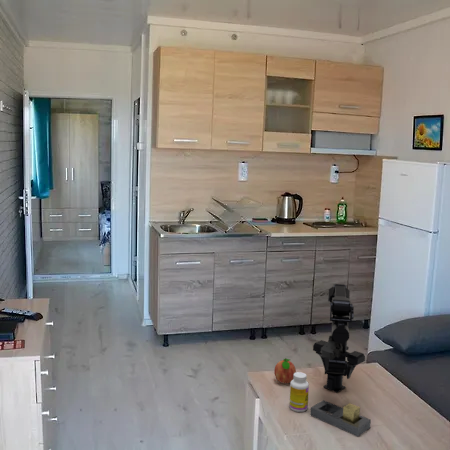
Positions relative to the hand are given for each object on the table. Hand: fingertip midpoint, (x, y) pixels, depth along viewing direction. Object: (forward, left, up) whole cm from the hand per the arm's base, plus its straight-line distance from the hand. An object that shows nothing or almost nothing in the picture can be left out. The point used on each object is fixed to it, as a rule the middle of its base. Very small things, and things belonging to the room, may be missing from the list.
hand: (337, 374), depth 193 cm
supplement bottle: (+12, -8, -12) cm, 19 cm away
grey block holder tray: (+9, +7, -12) cm, 17 cm away
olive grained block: (+9, +12, -12) cm, 19 cm away
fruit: (-2, -25, -12) cm, 28 cm away
